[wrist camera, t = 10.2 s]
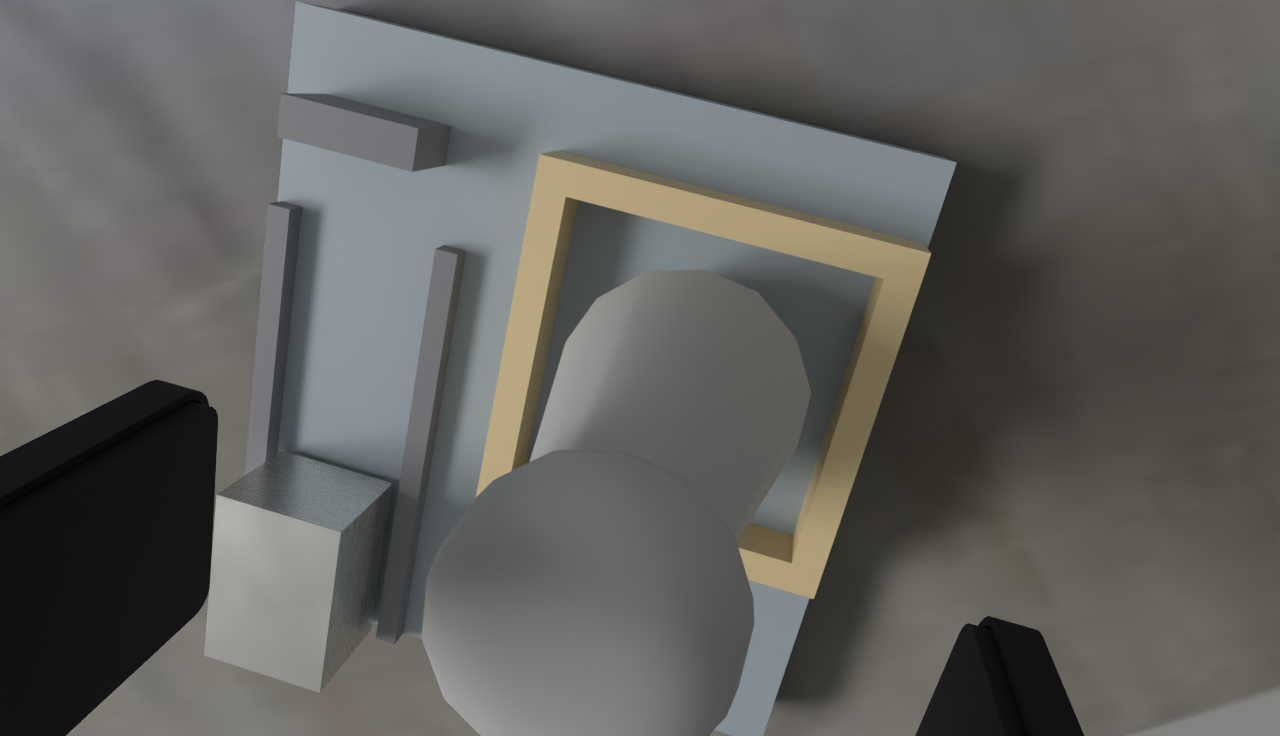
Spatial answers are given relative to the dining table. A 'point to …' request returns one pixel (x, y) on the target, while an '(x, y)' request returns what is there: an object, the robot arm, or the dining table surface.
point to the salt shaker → (624, 523)
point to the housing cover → (295, 568)
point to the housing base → (558, 281)
